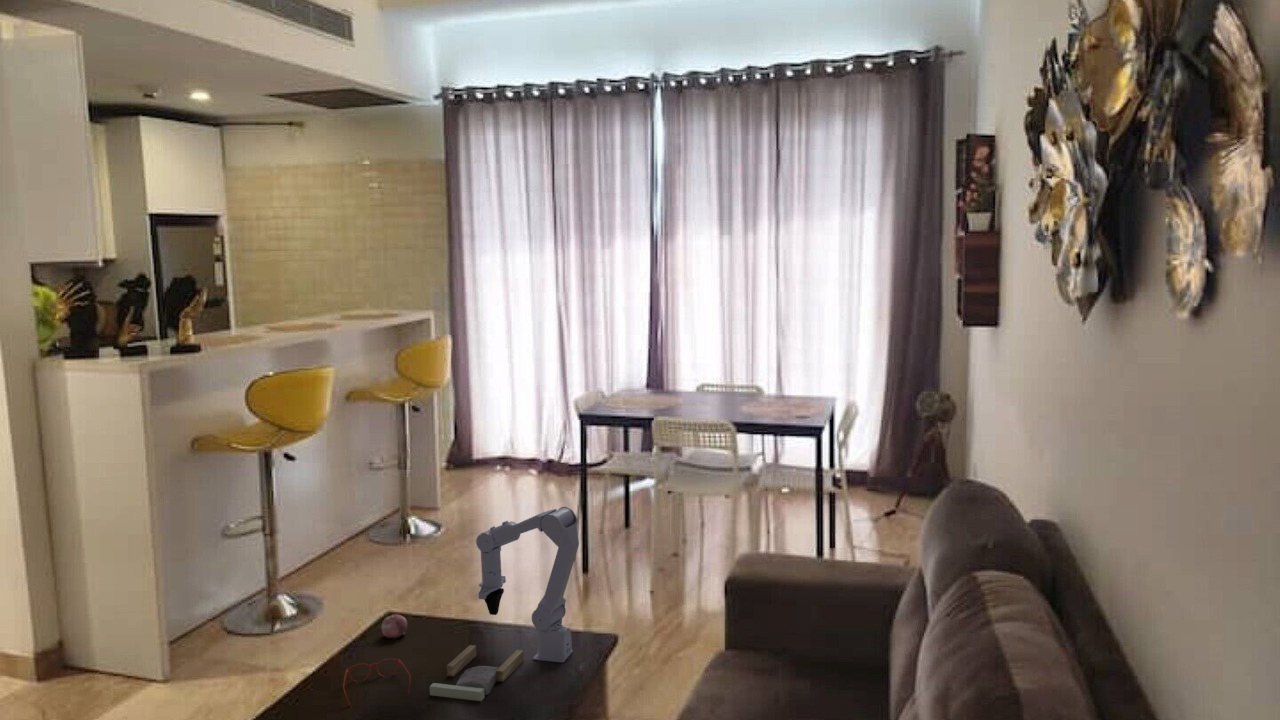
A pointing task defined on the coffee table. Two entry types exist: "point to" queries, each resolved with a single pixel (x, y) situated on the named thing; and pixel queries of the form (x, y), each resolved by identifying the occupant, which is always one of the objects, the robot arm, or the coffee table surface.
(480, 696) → the end bar
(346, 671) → the red eyeglasses
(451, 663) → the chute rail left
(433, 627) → the coffee table surface
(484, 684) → the stone block
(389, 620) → the onion
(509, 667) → the chute rail right
